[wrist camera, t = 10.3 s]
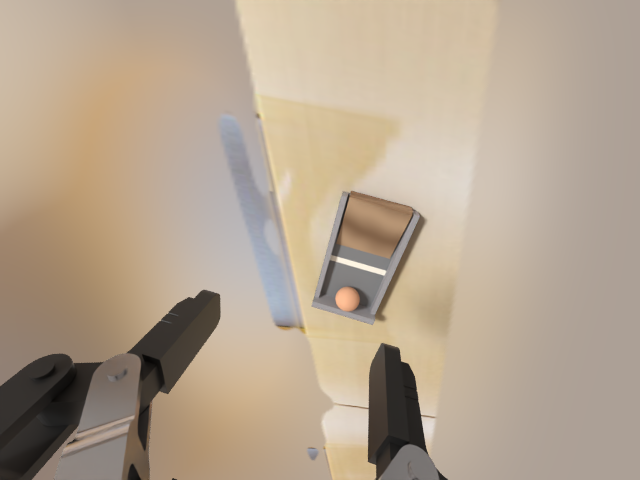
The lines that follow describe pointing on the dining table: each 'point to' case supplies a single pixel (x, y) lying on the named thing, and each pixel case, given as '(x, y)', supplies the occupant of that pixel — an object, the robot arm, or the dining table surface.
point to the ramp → (373, 224)
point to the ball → (347, 299)
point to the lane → (357, 271)
